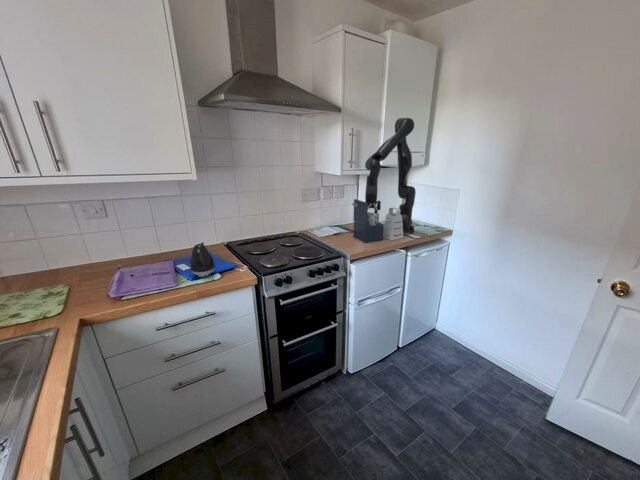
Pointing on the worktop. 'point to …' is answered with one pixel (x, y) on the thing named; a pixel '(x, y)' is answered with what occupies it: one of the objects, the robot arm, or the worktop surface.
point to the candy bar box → (372, 219)
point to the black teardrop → (201, 261)
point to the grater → (393, 225)
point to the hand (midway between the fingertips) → (370, 217)
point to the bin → (368, 232)
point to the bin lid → (360, 212)
